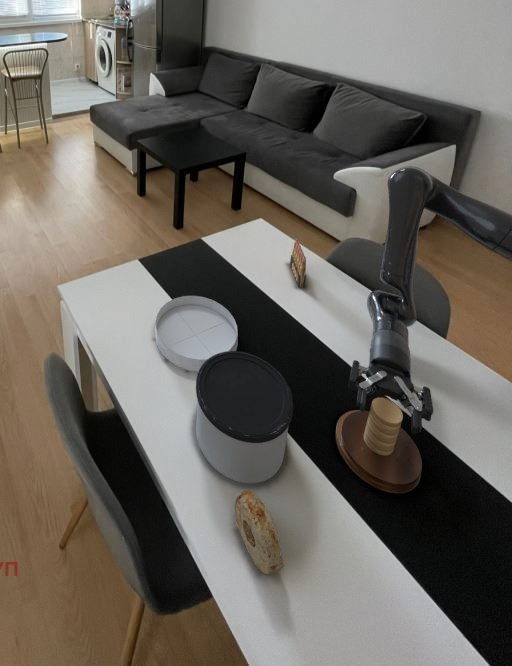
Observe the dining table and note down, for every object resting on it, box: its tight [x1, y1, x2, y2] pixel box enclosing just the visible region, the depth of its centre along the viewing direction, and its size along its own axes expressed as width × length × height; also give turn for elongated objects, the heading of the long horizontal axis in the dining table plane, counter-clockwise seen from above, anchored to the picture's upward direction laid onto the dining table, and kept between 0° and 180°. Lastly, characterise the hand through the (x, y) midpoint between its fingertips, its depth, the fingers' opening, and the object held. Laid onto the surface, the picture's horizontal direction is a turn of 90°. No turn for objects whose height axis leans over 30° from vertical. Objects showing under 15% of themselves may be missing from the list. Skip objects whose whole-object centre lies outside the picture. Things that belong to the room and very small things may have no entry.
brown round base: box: [335, 409, 423, 495], centre depth 87 cm, size 15×15×4 cm
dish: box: [154, 295, 239, 373], centre depth 116 cm, size 22×22×5 cm
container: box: [195, 350, 294, 484], centre depth 89 cm, size 19×19×15 cm
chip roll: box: [364, 397, 404, 456], centre depth 85 cm, size 5×5×10 cm
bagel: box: [233, 489, 285, 575], centre depth 73 cm, size 10×4×10 cm, turn 19°
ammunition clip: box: [289, 238, 307, 289], centre depth 134 cm, size 11×2×12 cm, turn 172°
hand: (388, 419), depth 82 cm, fingers open, 8 cm apart
